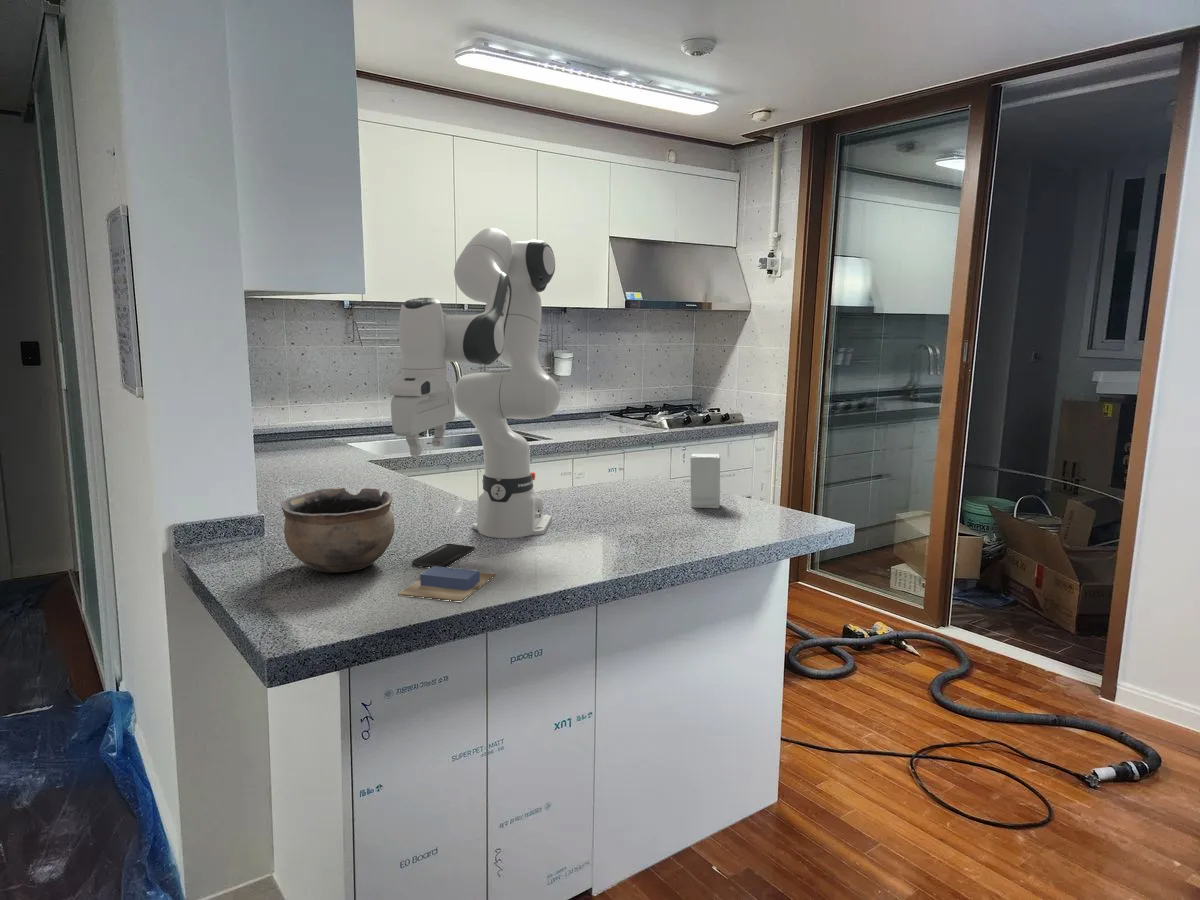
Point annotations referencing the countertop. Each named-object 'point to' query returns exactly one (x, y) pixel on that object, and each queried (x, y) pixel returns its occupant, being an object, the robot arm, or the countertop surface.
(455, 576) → the box
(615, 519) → the countertop surface
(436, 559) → the phone
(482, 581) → the mat
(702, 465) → the skincare box
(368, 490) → the ceramic bowl
